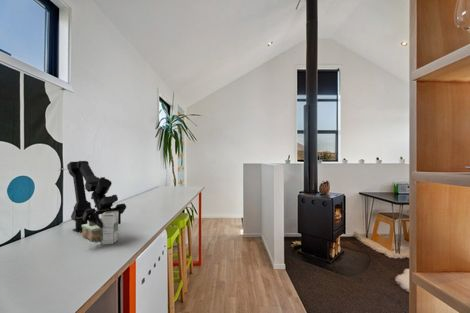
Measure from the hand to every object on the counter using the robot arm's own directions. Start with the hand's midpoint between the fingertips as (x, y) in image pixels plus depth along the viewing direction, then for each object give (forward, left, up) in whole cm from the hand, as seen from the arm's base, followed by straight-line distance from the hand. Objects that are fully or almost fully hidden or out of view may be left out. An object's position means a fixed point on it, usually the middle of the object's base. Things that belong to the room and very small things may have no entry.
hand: (111, 225), depth 113 cm
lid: (-16, +2, -3) cm, 16 cm away
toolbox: (-16, +2, -8) cm, 18 cm away
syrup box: (-1, 0, -8) cm, 8 cm away
